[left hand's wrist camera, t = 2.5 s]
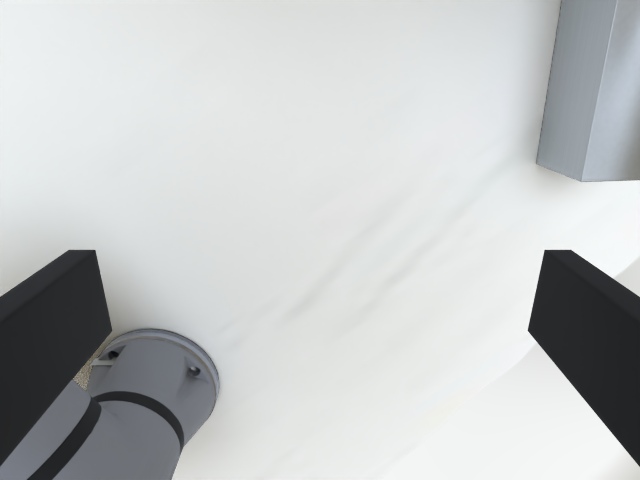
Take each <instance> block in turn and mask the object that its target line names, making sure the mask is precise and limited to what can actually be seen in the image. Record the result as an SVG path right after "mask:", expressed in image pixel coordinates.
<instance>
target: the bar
mask: <svg viewBox="0 0 640 480" xmlns="http://www.w3.org/2000/svg"><path fill="white" fill-rule="evenodd" d="M536 164H538V165H541V166H543V167H545V168H548V169H550V170H553V171H555V172H558V173H560V174H563V175H565V176H568V177H570V178H573V179H575V180H578V181H580V182H594V181H627V180H640V0H562V2H561V9H560V15H559V22H558V28H557V34H556V41H555V47H554V53H553V60H552V66H551V73H550V79H549V85H548V92H547V98H546V104H545V111H544V117H543V124H542V130H541V136H540V143H539V149H538V155H537V162H536Z"/></svg>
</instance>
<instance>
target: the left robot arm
mask: <svg viewBox="0 0 640 480" xmlns="http://www.w3.org/2000/svg"><path fill="white" fill-rule="evenodd" d="M111 332H112V327H111V322H110V318H109V313H108V308H107V303H106V299H105V294H104V289H103V284H102V280H101V275H100V270H99V265H98V261H97V256H96V251H95V250H68V251H67V252H65V253H64V254H62V255H61V256H60V257H58V258H57V259H55V260H54V261H52V262H51V263H49V264H48V265H46V266H45V267H43V268H42V269H41V270H39V271H38V272H36V273H35V274H33V275H32V276H30V277H29V278H27V279H26V280H24V281H23V282H22V283H20V284H19V285H17V286H16V287H14V288H13V289H11V290H10V291H8V292H7V293H5V294H4V295H3V296H1V297H0V480H171V479H172V477H173V474H174V471H175V468H176V466H177V463H178V460H179V457H180V454H181V452H182V449H183V447H184V446H185V445H186V443H187V442H188V441H189V440H190V439H191V438H192V436H193V435H194V434H195V433H196V432H197V431H198V429H199V428H200V427H201V426H202V425H203V424H204V422H205V421H206V420H207V419H208V418H209V416H210V415H211V413H212V411H213V408H214V406H215V403H216V400H217V397H218V392H219V378H218V374H217V371H216V368H215V366H214V364H213V362H212V361H211V359H210V358H209V357H208V355H207V354H206V353H205V352H204V351H203V350H202V349H201V348H200V347H199V346H197V345H196V344H195V343H193V342H192V341H190V340H188V339H186V338H184V337H182V336H180V335H178V334H175V333H172V332H168V331H163V330H155V329H144V330H136V331H132V332H128V333H126V334H123V335H121V336H119V337H117V338H116V339H114V340H113V341H112V342H111V343H109V344H108V345H107V347H106V348H105V349H104V350H103V351H102V353H101V354H100V355H99V356H98V358H95V359H94V360H93V361H92V362H91V364H90V365H93V367H92V369H91V374H90V377H89V381H88V385H87V389H86V391H85V390H84V389H83V388H82V387H81V386H79V385H78V384H77V383H76V382H75V381H74V380H73V378H74V376H75V375H76V374H77V373H78V372H79V370H80V369H81V368H82V367H83V366H84V364H85V363H86V362H87V361H88V359H89V358H90V357H91V356H92V355H93V353H94V352H95V351H96V350H97V349H98V347H99V346H100V345H101V344H102V342H103V341H104V340H105V339H106V338H107V336H108V335H109V334H110V333H111ZM528 332H529V333H530V334H531V335H532V336H533V338H534V339H535V340H536V341H537V342H538V344H539V345H540V346H541V347H542V349H543V350H544V351H545V352H546V353H547V355H548V356H549V357H550V358H551V359H552V361H553V362H554V363H555V364H556V366H557V367H558V368H559V369H560V370H561V372H562V373H563V374H564V375H565V376H566V378H567V379H568V380H569V381H570V383H571V384H572V385H573V386H574V387H575V389H576V390H577V391H578V392H579V393H580V395H581V396H582V397H583V398H584V399H585V401H586V402H587V403H588V404H589V406H590V407H591V408H592V409H593V410H594V412H595V413H596V414H597V415H598V417H599V418H600V419H601V420H602V421H603V423H604V424H605V425H606V426H607V427H608V429H609V430H610V431H611V432H612V434H613V435H614V436H615V437H616V438H617V440H618V441H619V442H620V443H621V445H622V446H623V447H624V448H625V449H626V451H627V452H628V453H629V454H630V455H631V457H632V458H633V459H634V460H635V462H636V463H637V464H638V465H639V466H640V297H639V296H637V295H636V294H635V293H633V292H632V291H630V290H629V289H627V288H626V287H624V286H623V285H621V284H620V283H618V282H617V281H616V280H614V279H613V278H611V277H610V276H608V275H607V274H605V273H604V272H602V271H601V270H599V269H598V268H597V267H595V266H594V265H592V264H591V263H589V262H588V261H586V260H585V259H583V258H582V257H580V256H579V255H578V254H576V253H575V252H573V251H572V250H545V251H544V256H543V261H542V265H541V270H540V275H539V280H538V284H537V289H536V294H535V299H534V303H533V308H532V313H531V318H530V322H529V327H528Z"/></svg>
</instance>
